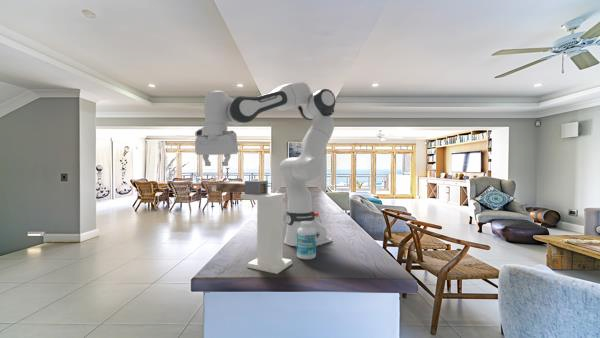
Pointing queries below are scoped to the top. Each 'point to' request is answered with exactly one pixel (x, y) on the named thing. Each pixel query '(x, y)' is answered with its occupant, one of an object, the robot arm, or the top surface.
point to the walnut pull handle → (234, 187)
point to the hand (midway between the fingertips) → (216, 166)
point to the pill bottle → (306, 241)
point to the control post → (267, 228)
